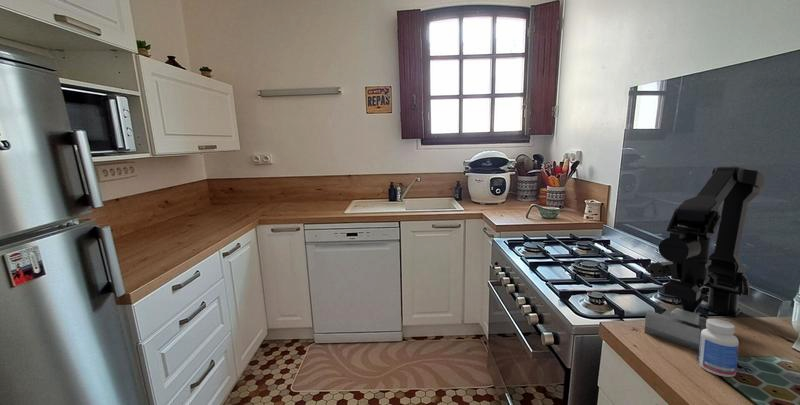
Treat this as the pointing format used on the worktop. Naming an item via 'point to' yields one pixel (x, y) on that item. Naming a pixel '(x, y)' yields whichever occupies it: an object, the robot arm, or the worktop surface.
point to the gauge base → (674, 328)
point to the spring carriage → (685, 316)
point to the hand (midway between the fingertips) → (688, 316)
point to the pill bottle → (719, 348)
